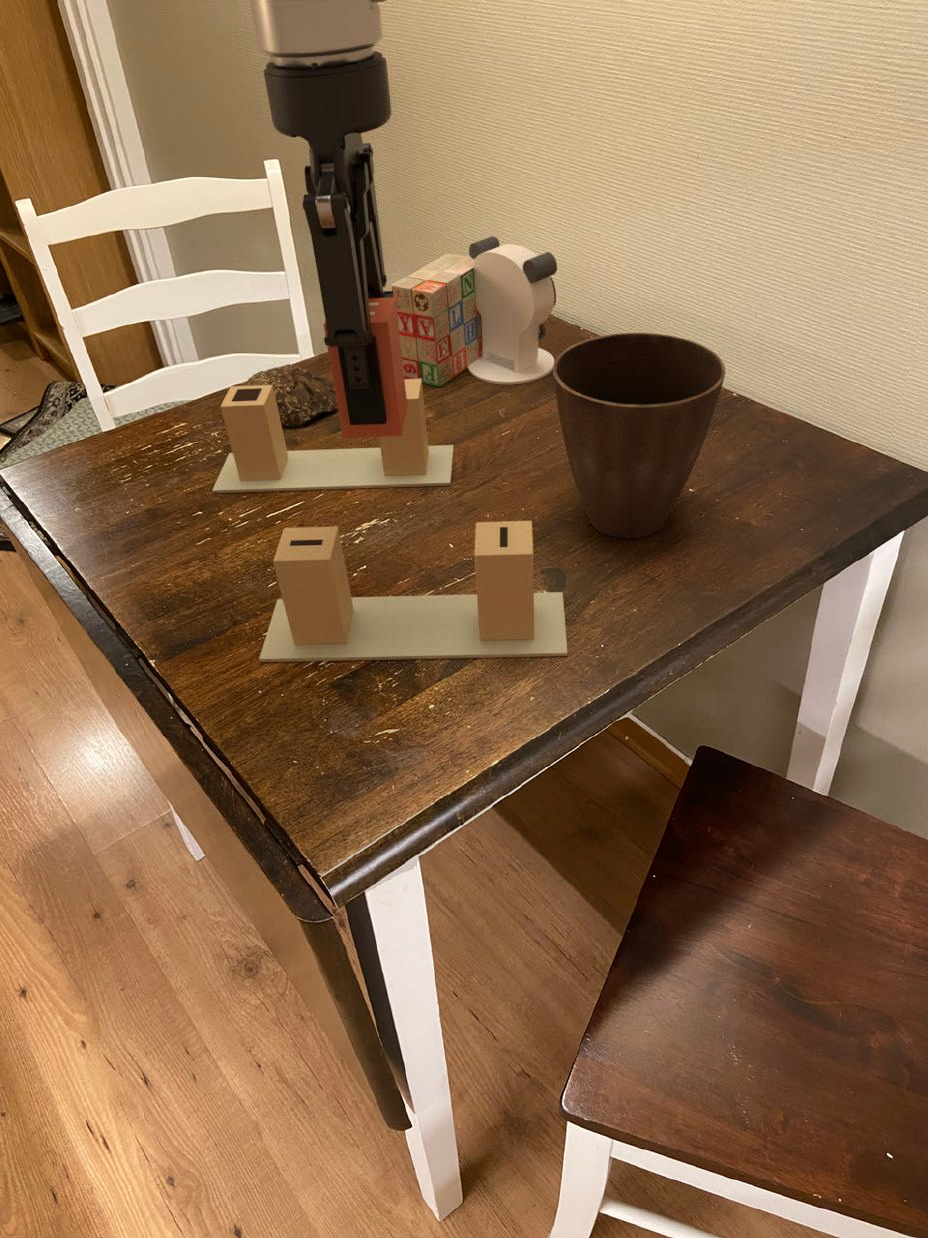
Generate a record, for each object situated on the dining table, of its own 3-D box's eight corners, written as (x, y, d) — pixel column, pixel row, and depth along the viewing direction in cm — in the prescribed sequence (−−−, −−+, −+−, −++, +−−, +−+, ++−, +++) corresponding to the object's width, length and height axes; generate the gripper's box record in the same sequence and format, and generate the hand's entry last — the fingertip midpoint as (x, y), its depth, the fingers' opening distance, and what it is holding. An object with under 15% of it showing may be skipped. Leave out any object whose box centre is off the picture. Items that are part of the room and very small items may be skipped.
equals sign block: (342, 437, 68) (323, 322, 62) (351, 409, 71) (333, 298, 66) (401, 436, 68) (387, 320, 62) (407, 407, 71) (395, 295, 65)
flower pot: (586, 466, 96) (590, 322, 85) (722, 495, 90) (745, 344, 79) (527, 540, 86) (524, 387, 75) (676, 578, 80) (695, 418, 70)
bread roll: (220, 414, 110) (210, 376, 107) (289, 375, 117) (282, 339, 114) (294, 439, 104) (285, 400, 101) (362, 396, 111) (356, 359, 108)
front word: (259, 662, 75) (234, 574, 69) (278, 602, 81) (256, 516, 75) (567, 656, 73) (569, 565, 67) (562, 595, 79) (564, 506, 73)
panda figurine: (576, 363, 115) (579, 244, 105) (515, 394, 109) (512, 272, 100) (510, 339, 122) (507, 226, 112) (450, 367, 116) (441, 250, 107)
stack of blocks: (489, 319, 128) (485, 230, 120) (526, 326, 125) (525, 236, 117) (400, 378, 115) (389, 283, 107) (440, 388, 112) (431, 291, 104)
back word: (212, 493, 96) (189, 414, 90) (230, 455, 102) (209, 379, 96) (450, 485, 94) (443, 404, 88) (453, 447, 100) (447, 369, 94)
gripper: (364, 77, 46) (409, 463, 62) (400, 28, 60) (430, 355, 75) (225, 86, 47) (304, 466, 62) (291, 35, 60) (343, 358, 76)
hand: (373, 404), depth 69 cm, fingers closed on equals sign block, 5 cm apart
